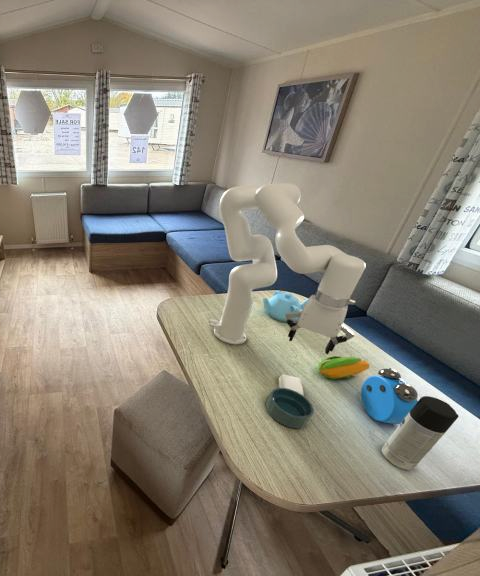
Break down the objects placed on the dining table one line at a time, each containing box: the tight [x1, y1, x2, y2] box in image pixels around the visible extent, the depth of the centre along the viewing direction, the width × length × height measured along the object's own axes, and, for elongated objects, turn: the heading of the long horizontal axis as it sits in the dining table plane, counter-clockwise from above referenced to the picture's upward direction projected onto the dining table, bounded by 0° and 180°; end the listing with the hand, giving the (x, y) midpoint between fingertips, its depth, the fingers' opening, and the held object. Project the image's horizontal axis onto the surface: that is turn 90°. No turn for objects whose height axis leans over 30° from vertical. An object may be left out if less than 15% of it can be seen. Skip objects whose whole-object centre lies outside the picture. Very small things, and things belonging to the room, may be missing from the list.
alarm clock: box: [360, 367, 419, 426], centre depth 90 cm, size 13×6×15 cm, turn 171°
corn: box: [317, 356, 370, 380], centre depth 107 cm, size 7×8×20 cm
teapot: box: [262, 290, 309, 323], centre depth 140 cm, size 15×17×11 cm
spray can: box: [381, 395, 459, 471], centre depth 77 cm, size 7×7×20 cm
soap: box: [278, 374, 305, 397], centre depth 101 cm, size 9×7×3 cm
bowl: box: [265, 387, 315, 429], centre depth 92 cm, size 11×11×5 cm
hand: (308, 345), depth 95 cm, fingers open, 9 cm apart
